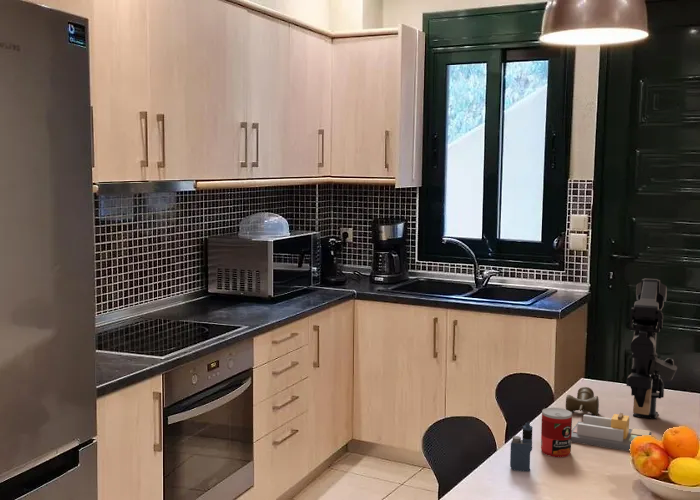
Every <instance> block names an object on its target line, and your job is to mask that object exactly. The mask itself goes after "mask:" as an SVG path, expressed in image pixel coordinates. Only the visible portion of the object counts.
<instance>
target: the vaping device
mask: <svg viewBox="0 0 700 500" xmlns="http://www.w3.org/2000/svg"><path fill="white" fill-rule="evenodd" d="M532 451H533V426H532V425H531V423H530V422H525V425H522V437H521V436H518V435H514V436H512V440H511V443H510V453H509V454H510V455H509V456H510V457H509V458H510V459H509V466H510V469H511V471H513V472H517V471H518V472H530V471H531V469H530V468H531V452H532Z"/></svg>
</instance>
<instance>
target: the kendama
mask: <svg viewBox="0 0 700 500" xmlns="http://www.w3.org/2000/svg"><path fill="white" fill-rule="evenodd" d="M565 397H566V398H565V409H566V410H568V411H570V412H571V413H573V412H576V411H580V412H581V411H585V412H588V413H590V415H591V414H592V416H598V415H599V408H600V404H599V403H600V402H599V401H600V399H599V396H598V395H596V396H595V394H594V391H593V389H592V388H590V387H588V386H581V387H579V389H578V390H577V396H576V397H575V396H573V395H571V394H567V395H566V396H565Z"/></svg>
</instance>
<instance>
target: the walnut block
mask: <svg viewBox="0 0 700 500" xmlns="http://www.w3.org/2000/svg"><path fill="white" fill-rule="evenodd" d="M651 392H652V387H651V389H648V390H647V392H646V396H645V401H644V405H643V407H639V406H638V404H637V402H636V399H635V397H634V396H633V409H632V414H633V413H638V414H644V415H649V413H650V407H651Z"/></svg>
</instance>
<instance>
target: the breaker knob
mask: <svg viewBox="0 0 700 500" xmlns="http://www.w3.org/2000/svg"><path fill="white" fill-rule="evenodd" d="M611 418H612V419H611V428H617V429H624V432H623V439H626V438H627V436H628V434H629V429H630V415H624V412H620V413H619V414H617V413H613V415H612V416H611Z"/></svg>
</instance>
